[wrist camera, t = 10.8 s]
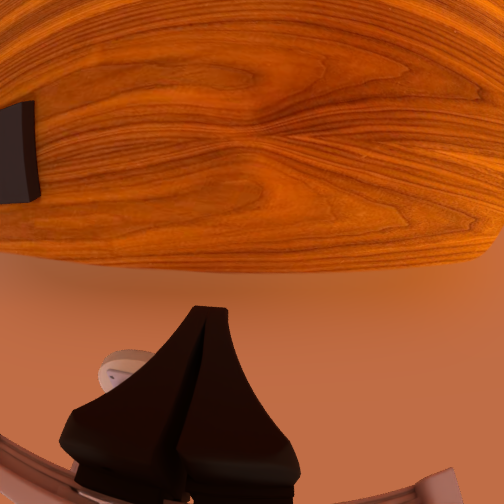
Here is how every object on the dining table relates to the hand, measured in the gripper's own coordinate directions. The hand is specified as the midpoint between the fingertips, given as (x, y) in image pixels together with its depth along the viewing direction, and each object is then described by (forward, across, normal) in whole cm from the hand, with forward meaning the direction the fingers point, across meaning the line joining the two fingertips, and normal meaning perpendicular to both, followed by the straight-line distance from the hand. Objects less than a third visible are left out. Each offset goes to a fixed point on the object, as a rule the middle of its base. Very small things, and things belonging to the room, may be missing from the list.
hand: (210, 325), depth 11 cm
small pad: (+9, +21, -7) cm, 24 cm away
